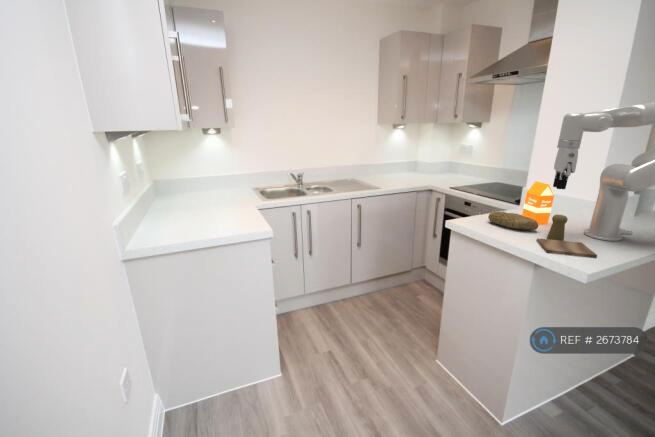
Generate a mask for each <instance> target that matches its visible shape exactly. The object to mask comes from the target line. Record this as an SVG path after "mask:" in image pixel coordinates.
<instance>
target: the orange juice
mask: <svg viewBox="0 0 655 437" xmlns="http://www.w3.org/2000/svg"><path fill="white" fill-rule="evenodd" d="M524 198H525V199H524V204H523V210H522V214H521V215H523V216H526V217H529V218H532V219H534V220H536V221H537V223H538V225H548V224H549V222H550V221H549V220H550V215H551V211H552V208H553V203H554V198H555V195H554V193H553V190H552V188H551V186H550V184H549V183H545V182H540V181H536V180H535V181H534V182H533V184H532V185H531V187H529V188H528V190H527V191H526V194H525V197H524Z"/></svg>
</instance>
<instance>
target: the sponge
mask: <svg viewBox="0 0 655 437" xmlns="http://www.w3.org/2000/svg"><path fill="white" fill-rule="evenodd" d="M488 221H489V223H493V224H495V225H500V226H503V227H506V228H509V229H515V230H523V231H530V230H531V231H533V230H537V229H538V228H539V224H538V223H537V221H536V220H534V219H532V218H529V217H526V216H523V215H522V214H519V213H515V212H506V211H496V210H495V211H492V212H490V213H489V214H488Z"/></svg>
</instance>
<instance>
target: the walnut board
mask: <svg viewBox="0 0 655 437" xmlns="http://www.w3.org/2000/svg"><path fill="white" fill-rule="evenodd" d="M536 242H537V244H539V246H540V247H541V248H542V249H543V251H544V252H545V253H546V254H554V255H563V254H564V255H565V256H572V255H574V256H573V257H583V258H593V259H597V258H598V254H596V252H594V251H593V250H592V249H590V248H589V247H588V246H587V245H586V244H585V243H583V242H579V241H570V240H569V241H568V240H564V241H560V240H550V239H547V238H538V237H537V238H536ZM564 255H563V256H564Z"/></svg>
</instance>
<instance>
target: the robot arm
mask: <svg viewBox="0 0 655 437" xmlns="http://www.w3.org/2000/svg"><path fill="white" fill-rule="evenodd" d="M650 125H651V126H652V125H655V101H651V102H646V103H645V102H644V103H639V104H632V105H627V106H622V107H615V108H610V109H604V110H597V111H592V112H591V111H590V112H586V113H583V112H580V113H579V112H578V113H577V112H574V113H573V112H572V113H566V114H565V115H564V116H563V119H562V124H561V128H560V132H559V136H558V137H559V138H558V142H557V146H556V148H557V149H558V150H557V153H556V157H555V161H554V163H553V164H554V166H553V169H554V170H555V174H554V179H553V184H552V187H553V188H556V189H557V190H566V187H567V184H568V180H569V177H570V176H571V174H573V173H575V172H576V168H577V164H578V158H579V149H580V148H581V144H582V139H583V136H584V135H583V134H584V133H588V132H589V133H602V132H605V131H607V130H609V129H612V128H613V129H614V128H637V127H645V126H650ZM653 186H655V147H654V148H652V149H649V150H647V151H645V152H643V153H641V154H639V155H637V156H636V157H635V158H633V160H632V161H631V164H624V163H613V164H610V165H608V166H606V167H605V168H604V169H602V171H601V173H600V178H599V190H598V195H597V199H596V202H595V205H594V210H593V212H592V217H591V221H590V224H589V226H588V227H589V228H587V229H584V230H583V235H585V236H587V237H590V238H592V239H597V240H601V241H606V242H607V241H609V242H618V241H621V240H622V236H623V235H624V236H633V231H632V230H626V229H622V228H620V227H621V223H622V221H623V217H624V214H625V213H624V212H625V210H626V206H627V204H628V200H629V192H633V193H634V192H639V191H644V190H646V189H648V188H652V187H653Z"/></svg>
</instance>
